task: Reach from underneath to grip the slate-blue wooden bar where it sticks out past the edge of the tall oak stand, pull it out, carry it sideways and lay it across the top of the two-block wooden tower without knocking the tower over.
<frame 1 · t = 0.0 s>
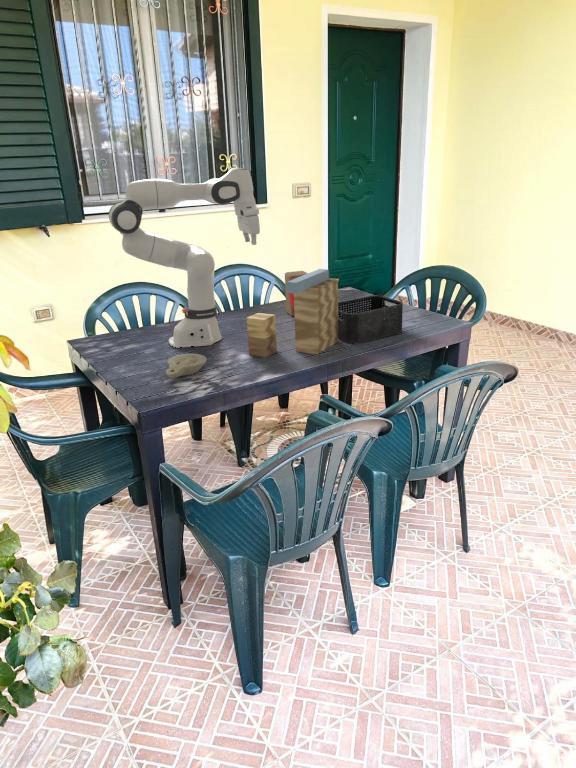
hand: (250, 243, 240), 39 cm above the table, tool pointing down, fingers open, 8 cm apart
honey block: (262, 334, 226), point 7 cm above the table, touching walnut block
heart: (306, 323, 265), on the table
blue bar: (308, 285, 219), point 26 cm above the table, touching oak stand
oak stand: (317, 346, 233), on the table
walnut block: (263, 352, 228), on the table, touching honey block
block: (298, 314, 282), on the table
storage bin: (364, 334, 247), on the table
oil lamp: (184, 375, 209), on the table
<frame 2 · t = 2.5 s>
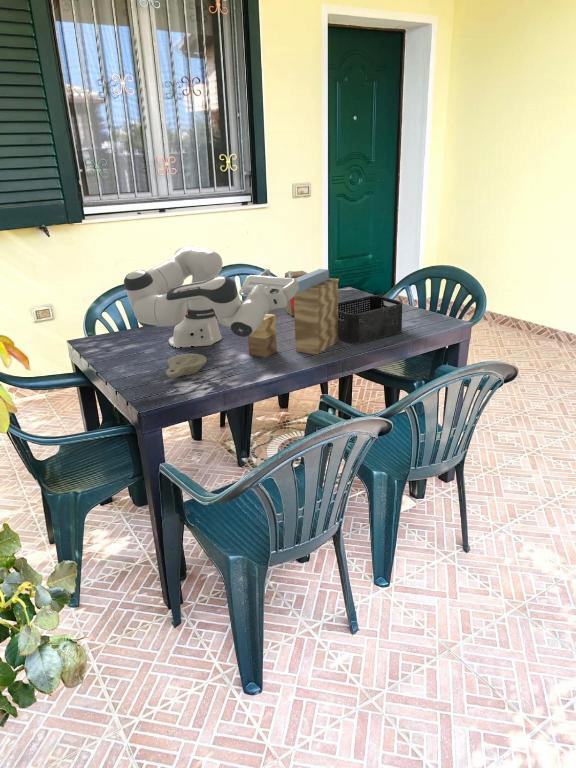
hand: (279, 271, 202), 35 cm above the table, tool pointing upward, fingers open, 8 cm apart
nothing on the table moved.
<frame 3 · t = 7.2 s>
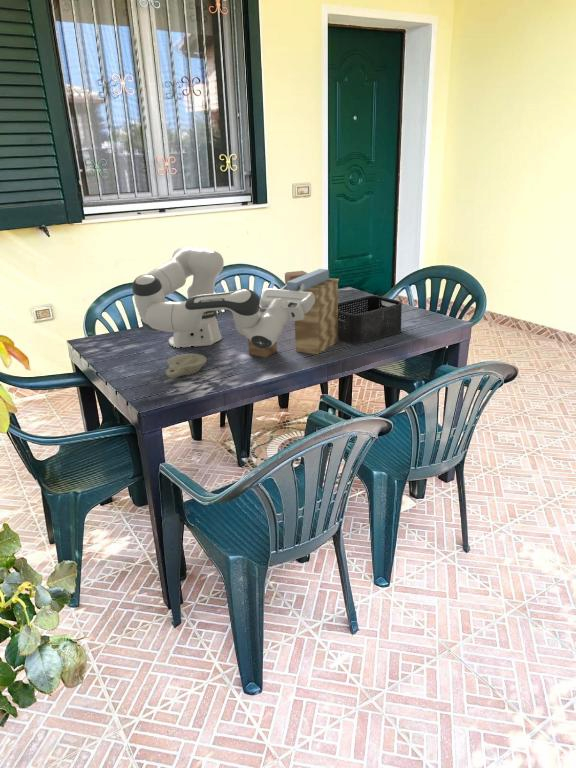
hand: (296, 284, 210), 28 cm above the table, tool pointing upward, fingers closed on blue bar, 4 cm apart
blue bar: (308, 285, 219), point 26 cm above the table, touching gripper, oak stand
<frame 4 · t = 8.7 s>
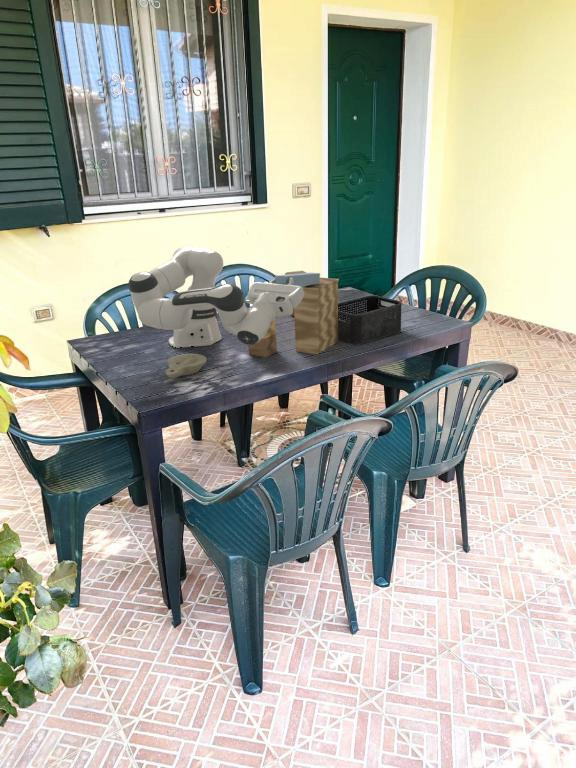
hand: (284, 278, 202), 32 cm above the table, tool pointing upward, fingers closed on blue bar, 4 cm apart
blue bar: (298, 285, 212), point 28 cm above the table, tilted 8°, touching gripper
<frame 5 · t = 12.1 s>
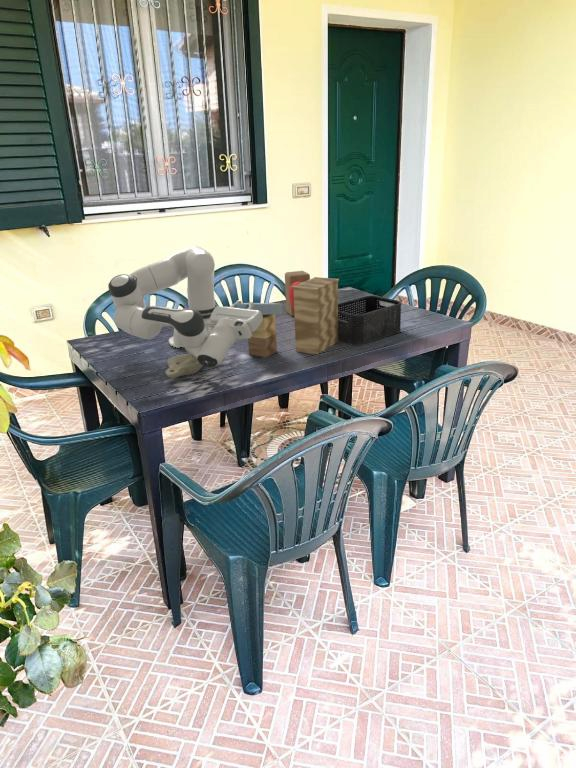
hand: (245, 302, 212), 23 cm above the table, tool pointing upward, fingers closed on blue bar, 4 cm apart
blue bar: (260, 314, 221), point 16 cm above the table, tilted 13°, touching gripper
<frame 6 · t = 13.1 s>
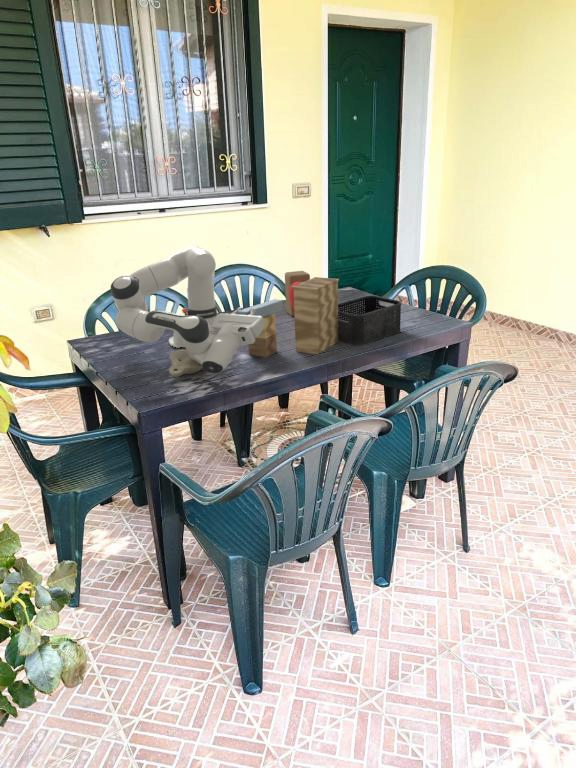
hand: (247, 308, 214), 20 cm above the table, tool pointing upward, fingers closed on blue bar, 4 cm apart
blue bar: (261, 315, 223), point 15 cm above the table, touching gripper
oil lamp: (184, 373, 209), point 1 cm above the table, touching arm
when the fingers open (20 cm above the table, at t = 13.3 s): blue bar stays where it is, resting on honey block.
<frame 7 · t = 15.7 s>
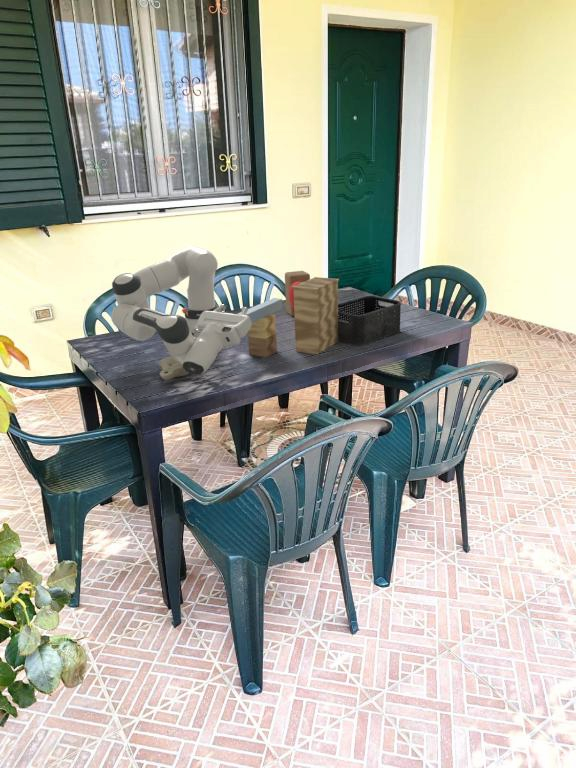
hand: (234, 307, 203), 24 cm above the table, tool pointing upward, fingers open, 8 cm apart
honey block: (262, 334, 226), point 7 cm above the table, touching blue bar, walnut block
blue bar: (261, 316, 223), point 15 cm above the table, touching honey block
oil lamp: (177, 376, 208), on the table
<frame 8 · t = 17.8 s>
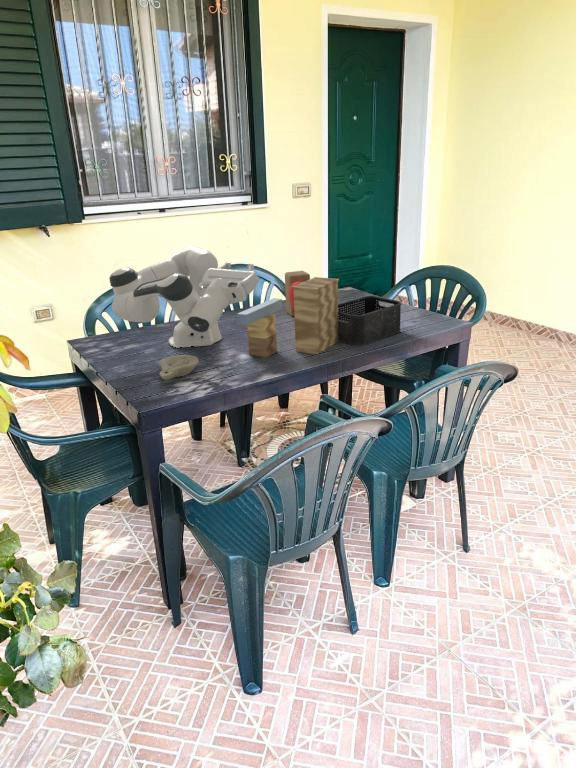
hand: (240, 264, 197), 38 cm above the table, tool pointing upward, fingers open, 8 cm apart
at the end: blue bar inside the target area on the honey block (0.3 cm from its centre), point 7.5 cm above the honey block's base; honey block tilted 0°; the gripper is holding nothing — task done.
